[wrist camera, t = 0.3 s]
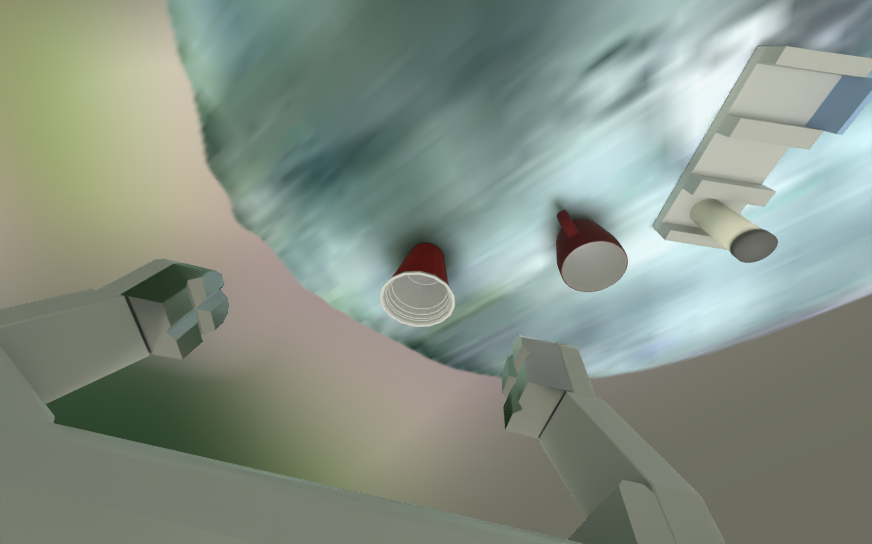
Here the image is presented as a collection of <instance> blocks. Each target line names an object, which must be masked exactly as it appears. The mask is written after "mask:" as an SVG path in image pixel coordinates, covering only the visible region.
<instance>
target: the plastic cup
mask: <svg viewBox="0 0 872 544" xmlns="http://www.w3.org/2000/svg"><path fill="white" fill-rule="evenodd" d="M380 300H381V304H382V307H383V309H384V310H385V311H386V312H387V313H388V314H389V316H390V317H392V318H394V319H395V320H397V321H399V322H401V323H403V324H407V325H411V326H415V327H419V326H431V325H435V324H438V323H441V322H442V321H444V320H445V319H446V318H448V317H449V316H450V315H451V313H452V311H453V309H454V307H455V300H454V294H453V292H452V290H451V289H450V287H449V284H448V281H447V274H446V267H445V263H444V256H443V254H442V252H441V250H440V249H439V248H438V247H437V246H435V245H433V244H430V243H422V244H419V245H417V246H416V247H414V248H413V249H412V250H411V252H410V253H409V255H408V256H407V257H406V258H405V259H404V261H403V262H402V264H401V265H400V267H399V268H398V270H397V271H396V273H395V274H394V275H393V276H392V277H391V278H390V279H389V280H388V281H387V282H386V283H385V284H384V285H383V287H382V290H381V294H380Z"/></svg>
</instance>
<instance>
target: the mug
mask: <svg viewBox="0 0 872 544" xmlns="http://www.w3.org/2000/svg"><path fill="white" fill-rule="evenodd" d="M557 218H558V221H559V223H560V224H561V226H562V229H561V231H560V232H559V234H558V237H557V241H556V252H557V265H558V268H559V271H560V274H561V276H562V278H563V280H564V282H565V283H566V284H567V285H568V286H569V287H571V288H573V289H575V290H578V291H583V292H593V291H599V290H602V289H605V288H607V287H609V286H611V285H613V284H614V283H616V282H617V281H618V280H619V279H620V278H621V277H622V276H623V274H624V273H625V271H626V268H627V264H628V259H627V255H626V253H625V251H624V249H623V248H622V246H621V245H620V243H619V242H618V241H617V239H616V238H615V237H614V236H612V235H611V234H610V233H609V232H607V231H606V230H605V229H603V228H602V227H601V226H599V225H598V224H596V223H595V222H593V221H590V220H583V219H579V220H573V221H572V219H571V218H570V216H569V213H568V212H567V211H566V210H562V211H560V212H559V213H558V214H557Z"/></svg>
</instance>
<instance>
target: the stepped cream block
mask: <svg viewBox="0 0 872 544" xmlns="http://www.w3.org/2000/svg"><path fill="white" fill-rule="evenodd" d="M871 70H872V59H871V58H864V57H857V56H850V55H843V54H837V53H830V52H823V51H816V50H809V49H802V48H795V47H789V46H757V48H756V49H755V51H754V53H753V55H752V56H751V58H750V60H749V61H748V63H747V65H746V67H745V68H744V70H743V72H742V73H741V75H740V77H739V79H738V80H737V82H736V84H735V85H734V87H733V89H732V91H731V92H730V94H729V96H728V97H727V99H726V101H725V103H724V104H723V106H722V108H721V109H720V111H719V113H718V115H717V116H716V118H715V120H714V121H713V123H712V125H711V127H710V128H709V130H708V132H707V133H706V135H705V137H704V139H703V140H702V142H701V144H700V145H699V147H698V149H697V150H696V152H695V154H694V156H693V157H692V159H691V161H690V162H689V164H688V166H687V168H686V169H685V171H684V173H683V174H682V176H681V178H680V180H679V181H678V183H677V185H676V186H675V188H674V190H673V192H672V193H671V195H670V197H669V198H668V200H667V202H666V204H665V205H664V207H663V209H662V210H661V212H660V214H659V216H658V217H657V219H656V221H655V222H654V224H653V226H652V227H653V228H654V229H655V230H656V231H657V232H658V233H659V234H660V235H661V236H662V237H663V238H664V239H665V240H670V241H676V242H682V243H688V244H695V245H701V246H707V247H713V248H720V249H726V248H725V247H724V246H723V245H721V244H720V243H719V242H718V241H717V240H715V239H714V238H713V237H712V236H710V235H709V234H708V233H707V232H706V231H704V230H703V229H702V228H701V227H699V226H698V225H697V224H696V223H695V222H693V221H692V220H691V219H690V211H691V209H692V208H693V206H694V205H695V204H697V203H698V202H700V201H702V200H704V199H709V198H712V199H716V200H718V201H719V202H721V203H723V204H724V205H726V206H727V207H729V208H730V209H732V210H733V211H735V212H736V213H738V214H740V213H741V211H742V210H743V209H744V207H745V206H746V205H747V204H750V205H757V206H763V207H765V205H766V204H767V203H768V201H769V200H770V199H771V198H772V196H773V195H774V194H775V193H776V191H774V190H772V189H770V188H768V187H766V186H764V185H762V183H763V182H764V180H765V179H766V178H767V176H768V175H769V174H770V172H771V171H772V170H773V168H774V167H775V166H776V164H777V163H778V162H779V160H780V159H781V158H782V156H783V155H784V154H785V152H786V151H787V150H788V148H789V147H796V148H802V149H810V148H811V147H812V145H813V144H814V143H815V142H816V140H817V139H818V138H819V136H820V135H821V134H822V133H823V131H827V132H831V133H835V134H841V135H842V134H843V133H844V132H845V131H846V130H847V128H848V127H849V126H850V125H851V123H852V122H853V121H854V120H855V119H856V117H857V116H858V115H859V114H860V112H861V111H862V110H863V109H864V108H865V106H866V105H867V104H868V103H869V102H870V100H871V99H872V78H866V77H867V75H868V74H869V73H870V72H871ZM726 250H727V249H726Z"/></svg>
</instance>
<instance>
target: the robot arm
mask: <svg viewBox="0 0 872 544" xmlns="http://www.w3.org/2000/svg"><path fill="white" fill-rule="evenodd" d="M223 286H224V281H223V278H222V274H220V273H219V272H217V271H215V270H210V269H206V268H202V267H198V266H193V265H189V264H184V263H179V262H175V261H171V260H167V259H155V260H154V261H152V262H150V263H148V264H146V265H144V266H142V267H140V268H138V269H136V270H135V271H133V272H131V273H129V274H127V275H125V276H123V277H121V278H119V279H117V280H115V281H114V282H112V283H110V284H108V285H106V286H104V287H102V288H100V289H98V290H93V289H88V290H84V291H80V292H75V293H70V294H66V295H61V296H57V297H52V298H48V299H43V300H39V301H34V302H30V303H26V304H21V305H16V306H11V307H7V308H2V309H0V544H726V543H725V541H724V539H723V537H722V535H721V533H720V531H719V530H718V528H717V526H716V524H715V522H714V520H713V518H712V517H711V514H710V512H709V511H708V509H707V507H706V505H705V503H704V501H703V499H702V497H701V495H699V494H698V493H697V492H696V491H695V490H694V489H693V488H692V487H691V486H690V485H689V484H688V483H687V482H686V481H685V480H684V479H683V478H682V477H681V476H680V475H679V474H678V473H677V472H676V471H675V470H674V469H673V468H672V467H671V466H670V465H669V464H668V463H667V462H666V461H665V460H664V459H663V458H662V457H661V456H660V455H659V454H658V453H657V452H656V451H655V450H654V449H653V448H652V447H651V446H650V445H648V443H647V442H645V441H644V440H643V439H642V438H641V437H640V436H639V435H638V434H637V433H636V432H635V431H634V430H633V429H632V428H631V427H630V426H629V425H628V424H627V423H626V422H625V421H624V420H623V419H622V418H621V417H620V416H619V415H618V414H617V413H616V412H615V411H614V410H613V409H612V408H611V407H610V406H609V405H608V404H607V403H606V402H604V400H603V399H599V398H596V396H595V393H594V391H593V388H592V385H591V382H590V380H589V377H588V374H587V372H586V369H585V366H584V364H583V361H582V358H581V356H580V353H579V350H578V348H577V347H576V346H573V345H568V344H562V343H557V342H556V343H554V342H550V341H545V340H540V339H535V338H530V337H525V336H521V335H518V336H517V337H516V338H515V340H514V343H513V345H512V348H513V355H511V356H509V357H508V358H507V360H506V363H505V366H504V370H503V375H502V392H503V394H504V395H505V396H506V398H507V399H506V402H505V404H504V406H503V410H504V421H505V422H504V423H505V431H509V432H514V433H517V434H522V435H526V436H529V437H534V438H538V439H539V440H538V441H539V443H540V444H541V446H542V448H543V449H544V451H545V452H546V454H547V456H548V457H549V459H550V461H551V462H552V464H553V466H554V467H555V469H556V470H557V472H558V474H559V475H560V477H561V478H562V480H563V482H564V484H565V485H566V487H567V488H568V490H569V492H570V493H571V495H572V497H573V498H574V500H575V502H576V503H577V505H578V506H579V508H580V510H581V511H582V513H583V515H584V516H585V518H586V520H585V521H584V522H583V523H582V524H581V525H580V526H579V527H578V528H577V529H576V531H575V532H574V533H573V534H572V535H571V536H570V537H569V538H568V540H567V539H563V538H558V537H554V536H549V535H544V534H540V533H536V532H532V531H527V530H522V529H518V528H514V527H509V526H505V525H500V524H496V523H492V522H487V521H483V520H478V519H474V518H469V517H465V516H460V515H456V514H452V513H447V512H443V511H439V510H434V509H429V508H425V507H421V506H417V505H412V504H407V503H403V502H399V501H394V500H390V499H386V498H381V497H377V496H372V495H368V494H363V493H359V492H355V491H350V490H346V489H341V488H337V487H333V486H328V485H324V484H319V483H315V482H311V481H306V480H301V479H297V478H293V477H289V476H284V475H280V474H275V473H271V472H267V471H262V470H258V469H253V468H249V467H244V466H240V465H235V464H231V463H226V462H222V461H218V460H213V459H208V458H204V457H200V456H196V455H191V454H186V453H182V452H178V451H173V450H169V449H165V448H160V447H156V446H151V445H147V444H143V443H138V442H134V441H129V440H125V439H120V438H116V437H112V436H107V435H103V434H98V433H94V432H89V431H85V430H80V429H76V428H72V427H67V426H63V425H58V424H54V423H53V421H54V415H53V414H52V413H51V411H50V410H49V409H48V407H47V406H46V405H45V404H46V403H49V402H51V401H53V400H55V399H57V398H59V397H61V396H64V395H66V394H68V393H70V392H72V391H74V390H76V389H78V388H81V387H83V386H85V385H87V384H89V383H91V382H94V381H96V380H98V379H100V378H102V377H104V376H106V375H109V374H111V373H113V372H115V371H117V370H119V369H121V368H124V367H126V366H128V365H130V364H132V363H134V362H136V361H139V360H141V359H143V358H145V357H147V356H149V355H150V354H155V355H160V356H166V357H170V358H176V359H181V360H183V359H184V358H185V357H187V356H188V355H189V354H190V353H191V352H192V351H193V350H194V349H195V348H196V347H197V346H199V345H200V344H201V343H202V342H203V335H204V334H206V333H209V332H212V331H214V330H216V329H217V328H218V327H219V326H220V325H221V324H222V323H223V322H224V320H225V318H226V316H227V314H228V308H229V303H228V298H227V297H226V296H225V294H224V293H223V292H222V291H221V288H222V287H223Z"/></svg>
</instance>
